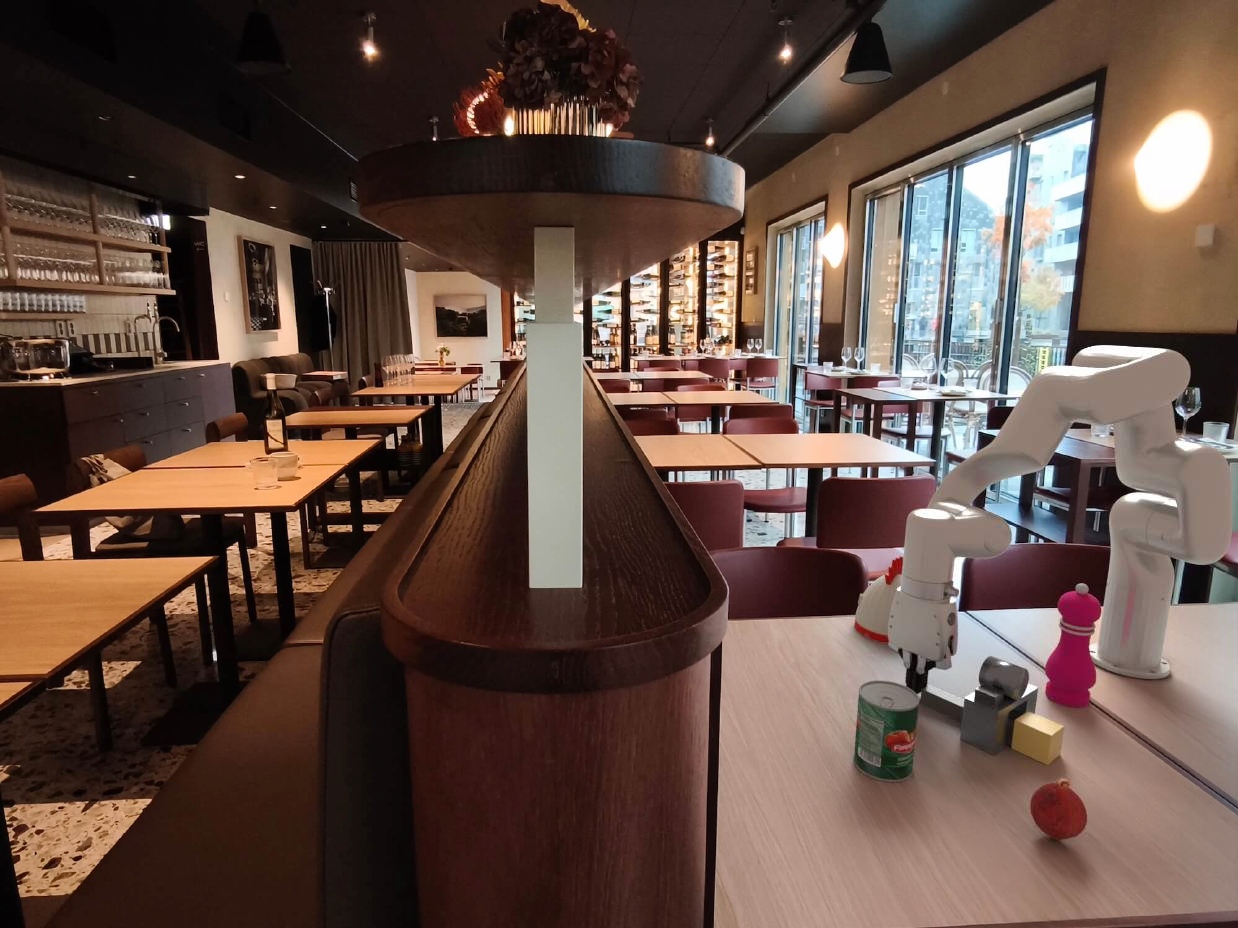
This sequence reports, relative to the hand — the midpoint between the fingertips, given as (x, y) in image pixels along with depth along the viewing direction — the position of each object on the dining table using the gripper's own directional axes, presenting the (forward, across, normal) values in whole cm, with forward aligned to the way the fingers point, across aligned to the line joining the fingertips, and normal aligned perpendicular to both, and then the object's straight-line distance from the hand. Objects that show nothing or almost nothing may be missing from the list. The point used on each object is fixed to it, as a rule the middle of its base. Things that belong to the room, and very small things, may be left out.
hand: (915, 690), depth 121 cm
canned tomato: (+2, -8, +21) cm, 22 cm away
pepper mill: (+1, -15, -20) cm, 25 cm away
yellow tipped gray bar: (+1, -12, 0) cm, 12 cm away
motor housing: (+1, -14, 0) cm, 14 cm away
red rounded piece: (+1, -29, +16) cm, 33 cm away
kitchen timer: (+1, +18, -20) cm, 27 cm away
